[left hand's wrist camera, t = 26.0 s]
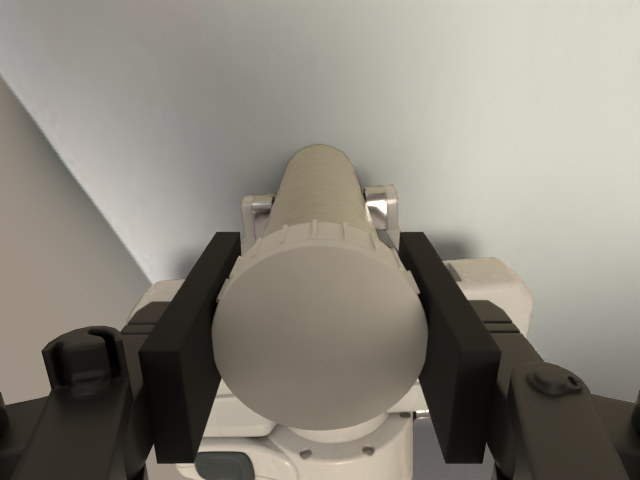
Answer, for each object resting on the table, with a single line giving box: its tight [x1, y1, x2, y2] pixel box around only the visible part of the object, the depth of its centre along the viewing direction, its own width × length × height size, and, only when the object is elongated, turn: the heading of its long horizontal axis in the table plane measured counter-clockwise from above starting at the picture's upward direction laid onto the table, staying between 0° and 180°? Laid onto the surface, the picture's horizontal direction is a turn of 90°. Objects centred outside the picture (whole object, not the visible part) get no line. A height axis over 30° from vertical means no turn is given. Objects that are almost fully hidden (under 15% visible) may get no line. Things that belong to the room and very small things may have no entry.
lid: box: [211, 219, 428, 431], centre depth 11 cm, size 5×5×2 cm
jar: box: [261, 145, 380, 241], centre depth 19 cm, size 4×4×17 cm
